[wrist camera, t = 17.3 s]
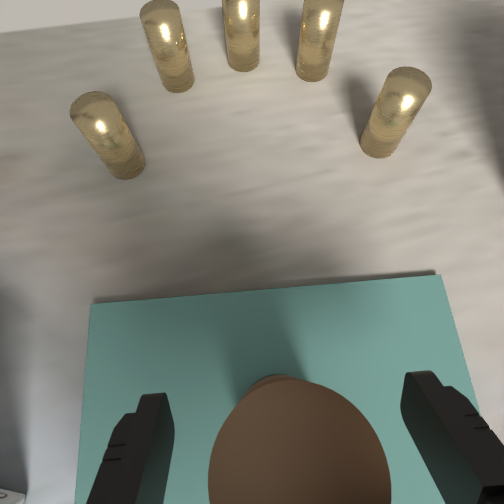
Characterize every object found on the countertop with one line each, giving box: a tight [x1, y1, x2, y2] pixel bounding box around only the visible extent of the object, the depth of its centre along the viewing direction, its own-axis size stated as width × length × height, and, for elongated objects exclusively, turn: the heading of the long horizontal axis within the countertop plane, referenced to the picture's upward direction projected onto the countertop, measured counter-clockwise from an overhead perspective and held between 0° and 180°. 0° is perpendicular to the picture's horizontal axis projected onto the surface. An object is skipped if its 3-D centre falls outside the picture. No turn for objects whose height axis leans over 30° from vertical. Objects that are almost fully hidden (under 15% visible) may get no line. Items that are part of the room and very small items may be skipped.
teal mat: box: [74, 274, 481, 504], centre depth 17 cm, size 20×13×1 cm, turn 95°
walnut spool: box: [208, 374, 392, 504], centre depth 12 cm, size 4×4×10 cm
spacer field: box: [70, 0, 432, 179], centre depth 22 cm, size 19×11×5 cm, turn 95°
